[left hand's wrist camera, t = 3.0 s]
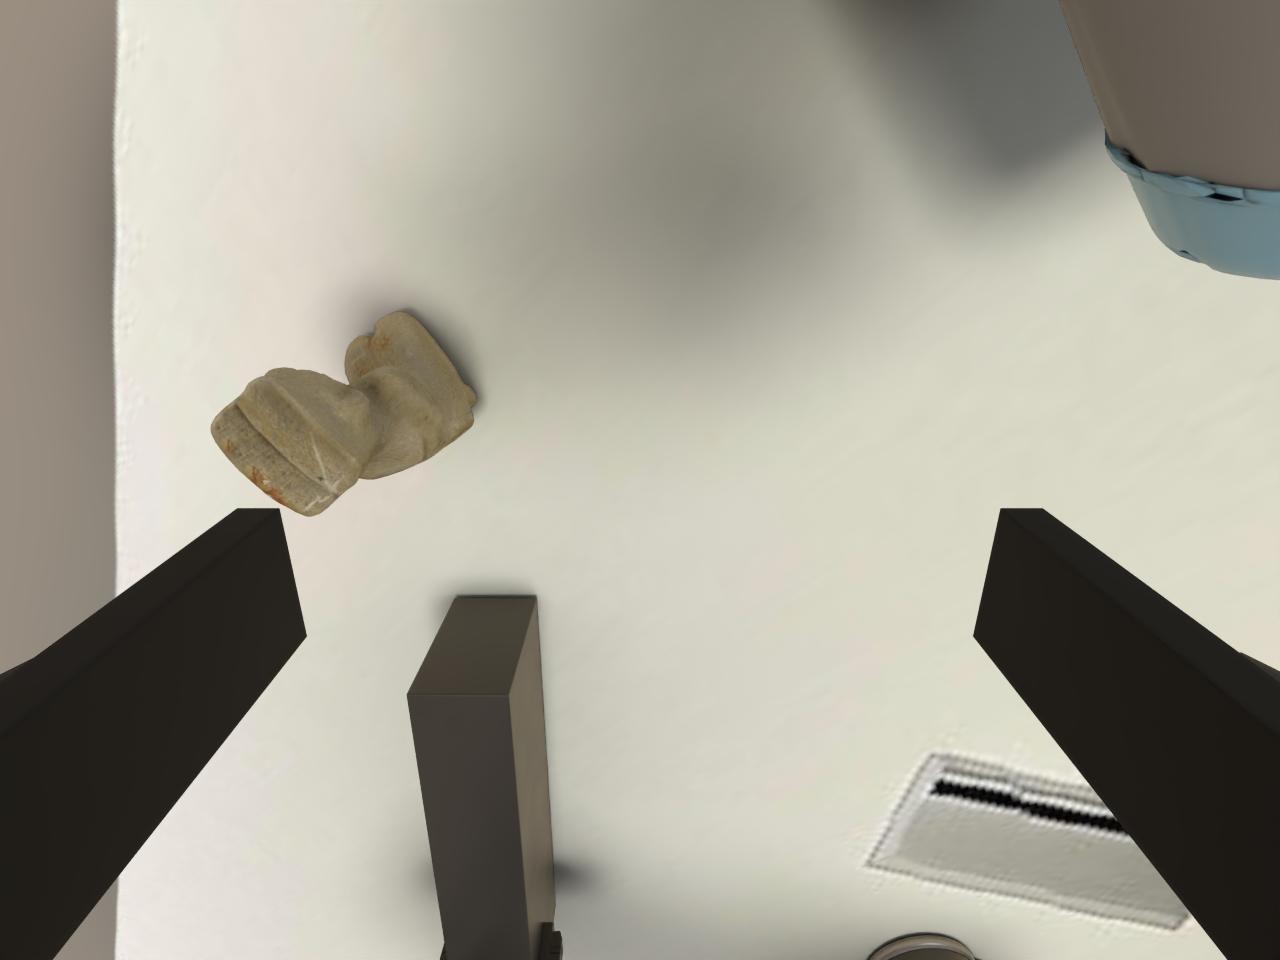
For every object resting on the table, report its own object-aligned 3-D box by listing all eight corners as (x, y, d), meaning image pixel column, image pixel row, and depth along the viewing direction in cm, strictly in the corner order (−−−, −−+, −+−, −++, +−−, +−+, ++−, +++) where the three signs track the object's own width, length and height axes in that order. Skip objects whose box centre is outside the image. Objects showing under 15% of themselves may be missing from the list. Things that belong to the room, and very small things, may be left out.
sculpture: (420, 291, 36) (282, 339, 22) (504, 398, 38) (427, 504, 25) (340, 352, 37) (163, 435, 24) (427, 453, 40) (311, 583, 26)
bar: (454, 597, 43) (405, 694, 34) (536, 597, 43) (508, 695, 34) (489, 903, 53) (458, 1038, 45) (555, 904, 53) (538, 1039, 45)
